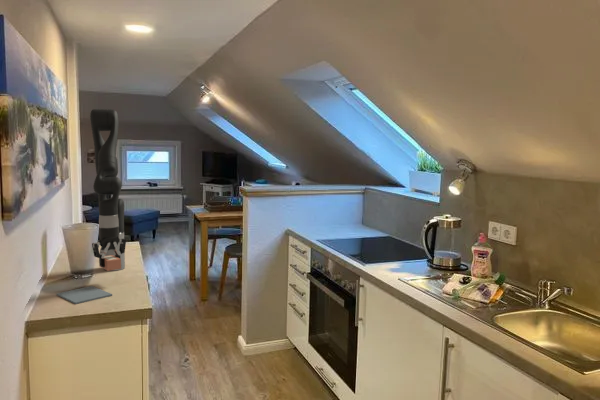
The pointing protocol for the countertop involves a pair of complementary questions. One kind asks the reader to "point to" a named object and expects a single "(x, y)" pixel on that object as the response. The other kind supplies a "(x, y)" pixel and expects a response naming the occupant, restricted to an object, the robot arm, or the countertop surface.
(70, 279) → the countertop surface
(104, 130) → the robot arm
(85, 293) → the mat
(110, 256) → the card box
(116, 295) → the countertop surface
